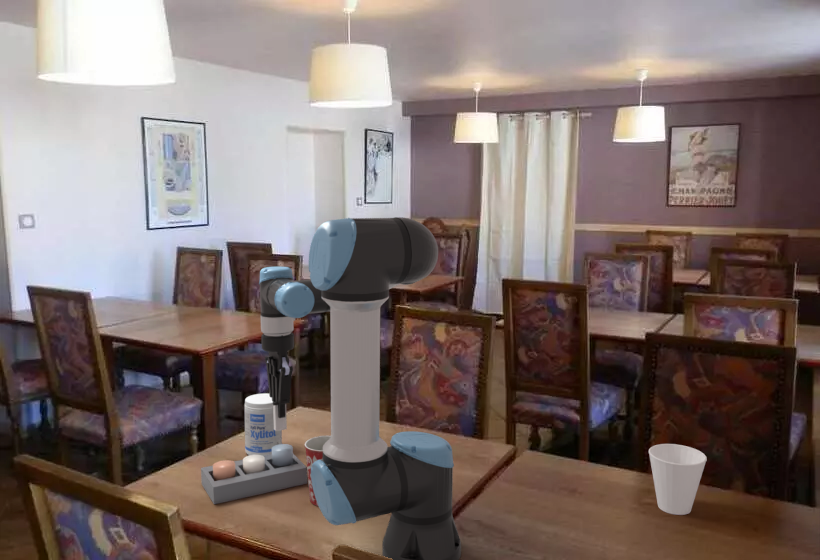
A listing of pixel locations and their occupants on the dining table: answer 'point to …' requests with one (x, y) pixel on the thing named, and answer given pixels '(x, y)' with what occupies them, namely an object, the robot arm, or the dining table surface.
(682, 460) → the cup
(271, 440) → the supplement tub
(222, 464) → the peach round dome
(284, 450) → the pale blue dome
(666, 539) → the dining table surface
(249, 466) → the white domed button
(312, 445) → the mug
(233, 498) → the grey compartment tray
